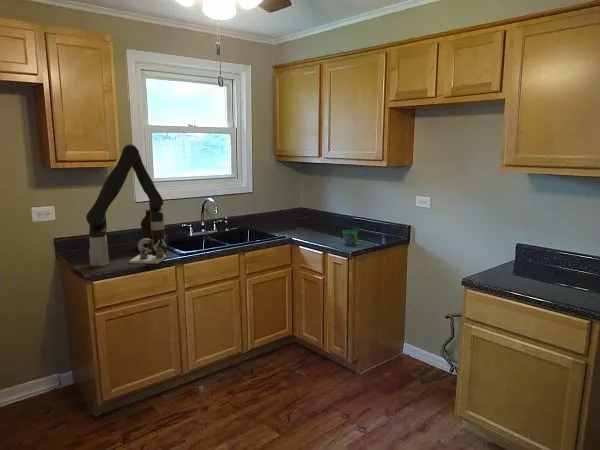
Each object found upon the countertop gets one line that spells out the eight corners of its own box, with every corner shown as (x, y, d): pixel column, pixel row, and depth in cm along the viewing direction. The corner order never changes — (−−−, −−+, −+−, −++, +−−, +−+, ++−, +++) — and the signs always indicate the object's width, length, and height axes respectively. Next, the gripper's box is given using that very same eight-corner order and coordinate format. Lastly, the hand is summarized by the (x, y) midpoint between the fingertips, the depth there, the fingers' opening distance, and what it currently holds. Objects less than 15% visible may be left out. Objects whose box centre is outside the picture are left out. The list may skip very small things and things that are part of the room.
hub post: (154, 258, 272) (154, 247, 270) (157, 256, 276) (156, 245, 275) (161, 258, 271) (161, 247, 270) (164, 256, 276) (163, 245, 274)
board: (129, 263, 266) (129, 260, 265) (139, 257, 279) (138, 254, 279) (157, 263, 265) (157, 261, 265) (165, 257, 279) (165, 255, 278)
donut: (154, 251, 292) (153, 237, 290) (154, 253, 289) (153, 238, 287) (138, 253, 288) (136, 238, 286) (138, 254, 285) (137, 239, 283)
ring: (159, 254, 269) (158, 251, 269) (152, 253, 272) (151, 250, 272) (166, 252, 274) (166, 249, 274) (159, 251, 277) (159, 248, 277)
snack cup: (338, 243, 316) (338, 229, 314) (352, 242, 319) (352, 228, 317) (347, 248, 301) (348, 233, 299) (361, 247, 305) (362, 232, 303)
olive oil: (140, 247, 304) (137, 211, 299) (145, 243, 314) (142, 208, 310) (155, 247, 304) (153, 211, 299) (160, 243, 315) (158, 208, 310)
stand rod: (139, 259, 269) (138, 248, 268) (141, 257, 273) (141, 246, 272) (146, 259, 269) (145, 248, 268) (149, 257, 273) (148, 247, 272)
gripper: (153, 231, 262) (154, 257, 265) (171, 226, 274) (172, 252, 278) (144, 229, 266) (145, 256, 269) (162, 225, 278) (163, 251, 281)
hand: (159, 254), depth 273 cm, fingers open, 8 cm apart
